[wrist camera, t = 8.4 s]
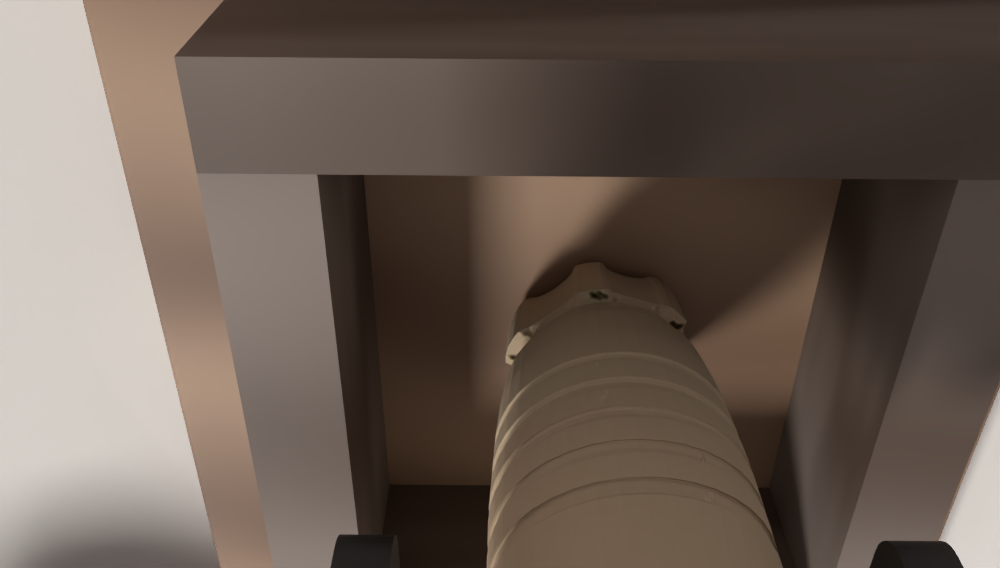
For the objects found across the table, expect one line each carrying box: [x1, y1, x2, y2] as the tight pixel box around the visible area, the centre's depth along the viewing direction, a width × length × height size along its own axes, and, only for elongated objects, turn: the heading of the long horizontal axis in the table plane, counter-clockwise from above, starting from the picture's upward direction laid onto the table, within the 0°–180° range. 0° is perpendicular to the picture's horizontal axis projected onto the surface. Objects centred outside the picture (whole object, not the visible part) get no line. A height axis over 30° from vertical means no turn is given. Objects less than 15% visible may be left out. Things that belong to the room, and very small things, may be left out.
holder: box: [83, 0, 1000, 568], centre depth 16 cm, size 20×16×5 cm
